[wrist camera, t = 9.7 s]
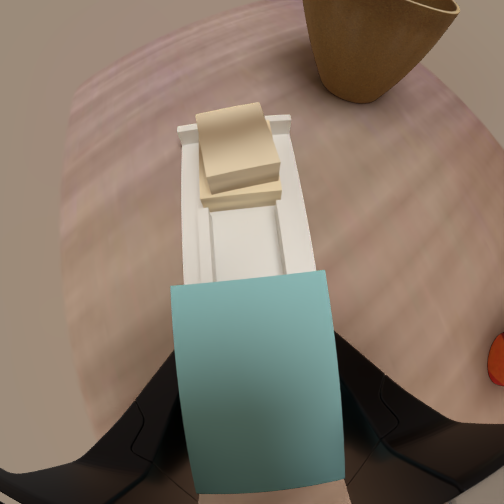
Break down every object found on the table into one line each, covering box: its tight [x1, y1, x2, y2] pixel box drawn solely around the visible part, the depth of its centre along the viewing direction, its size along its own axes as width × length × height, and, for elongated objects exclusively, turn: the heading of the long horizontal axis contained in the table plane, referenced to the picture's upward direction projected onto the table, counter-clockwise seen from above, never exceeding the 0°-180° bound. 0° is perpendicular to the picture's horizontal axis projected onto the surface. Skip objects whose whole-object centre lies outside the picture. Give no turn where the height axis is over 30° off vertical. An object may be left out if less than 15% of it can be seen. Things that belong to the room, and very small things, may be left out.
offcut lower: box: [199, 120, 282, 212], centre depth 23 cm, size 7×6×2 cm
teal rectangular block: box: [170, 270, 345, 494], centre depth 10 cm, size 5×3×10 cm
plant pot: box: [303, 0, 460, 103], centre depth 21 cm, size 15×15×16 cm
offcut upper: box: [195, 102, 281, 195], centre depth 21 cm, size 6×5×2 cm
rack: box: [177, 115, 316, 285], centre depth 23 cm, size 16×10×3 cm, turn 6°
